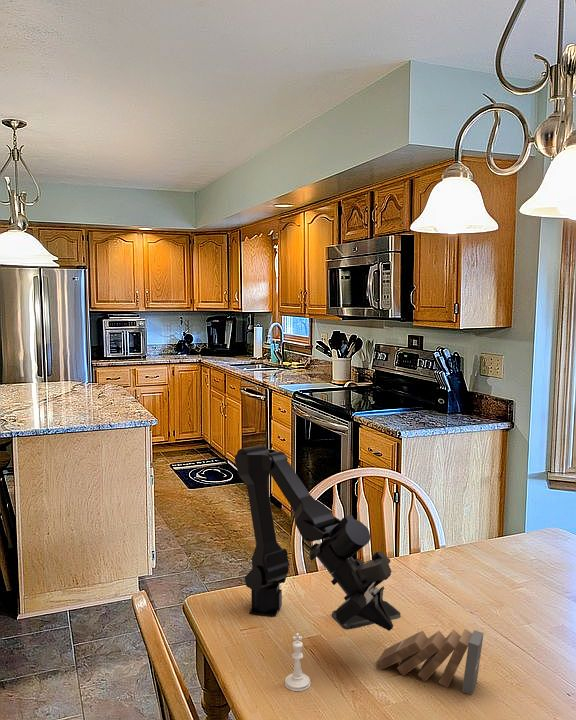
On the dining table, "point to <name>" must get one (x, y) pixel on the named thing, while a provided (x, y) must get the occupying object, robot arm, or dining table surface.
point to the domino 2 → (422, 653)
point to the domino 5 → (472, 662)
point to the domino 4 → (455, 658)
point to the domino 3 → (439, 656)
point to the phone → (360, 621)
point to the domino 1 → (402, 650)
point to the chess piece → (297, 669)
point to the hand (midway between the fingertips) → (391, 628)
